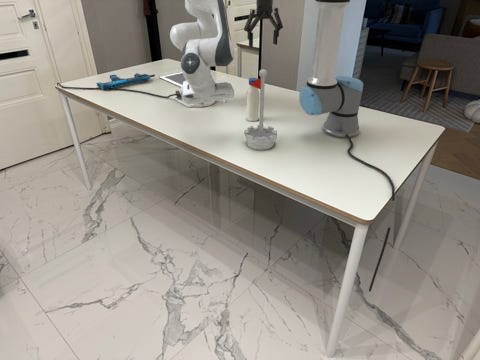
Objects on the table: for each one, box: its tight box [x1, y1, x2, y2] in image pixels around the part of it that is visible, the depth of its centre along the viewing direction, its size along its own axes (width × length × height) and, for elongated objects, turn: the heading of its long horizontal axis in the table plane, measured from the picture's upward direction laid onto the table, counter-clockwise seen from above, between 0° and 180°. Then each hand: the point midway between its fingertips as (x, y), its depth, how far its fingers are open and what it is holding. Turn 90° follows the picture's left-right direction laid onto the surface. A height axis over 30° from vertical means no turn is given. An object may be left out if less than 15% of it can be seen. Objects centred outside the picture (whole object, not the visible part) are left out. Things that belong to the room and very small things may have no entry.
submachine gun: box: [95, 72, 156, 91], centre depth 209 cm, size 34×4×25 cm
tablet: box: [158, 71, 186, 88], centre depth 212 cm, size 32×20×1 cm, turn 41°
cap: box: [248, 77, 259, 86], centre depth 151 cm, size 4×4×2 cm
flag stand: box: [244, 68, 278, 151], centre depth 131 cm, size 13×13×30 cm
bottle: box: [246, 85, 260, 122], centre depth 156 cm, size 6×6×19 cm
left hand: (213, 103), depth 142 cm, fingers open, 8 cm apart
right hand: (263, 45), depth 167 cm, fingers open, 13 cm apart
